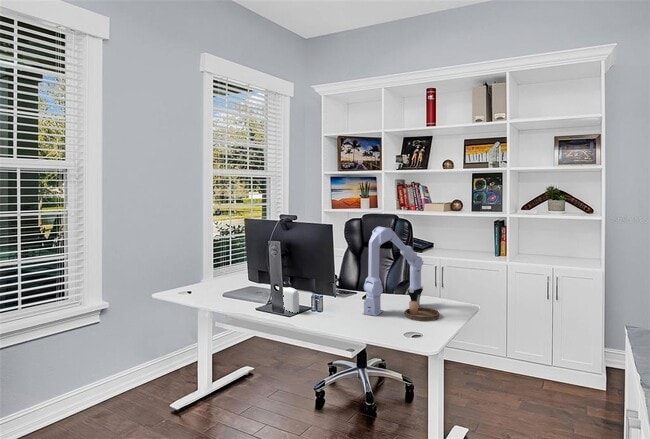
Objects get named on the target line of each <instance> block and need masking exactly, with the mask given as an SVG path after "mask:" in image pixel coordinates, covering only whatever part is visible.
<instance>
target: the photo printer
mask: <svg viewBox="0 0 650 439" xmlns="http://www.w3.org/2000/svg"><path fill="white" fill-rule="evenodd" d="M283 295H284V297H282V298H283V300H282V302H284V305H283V308H284V307H285V310H284V311H286V310H287V311H286V312H289V311H290V313H292V312H293V313H292V314H298V313H299V312H300V294H299V291H298V290H297V289H295V288H293V287H289V286H288V287H284V288H283V291H282V296H283ZM297 312H298V313H297Z"/></svg>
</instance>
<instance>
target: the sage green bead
mask: <svg viewBox="0 0 650 439" xmlns="http://www.w3.org/2000/svg"><path fill="white" fill-rule="evenodd" d="M420 299H421V296H420V295H418V297H417V302H418V307H420V306H421V305H420V304H421V302H420Z"/></svg>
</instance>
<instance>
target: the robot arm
mask: <svg viewBox="0 0 650 439" xmlns="http://www.w3.org/2000/svg"><path fill="white" fill-rule="evenodd" d="M371 232H372V234H371V236H370V239H369V241H368V265H367V266H368V270H367V272H368V274H367V275H368V276H367V277H366V278H365V281H364V284H363V290H364V292H365V296H366V298H365V300H364V301H363V312H362V315H367V316H368V315H369V316H374V317H375V316H376V317H377V316H379V315H380V314H382V313H383V312H384V309H381V305H382V304H381V296H382V294H383V291H384V287H383V285H382V280H381V278H380V252H381V251H380V250H381V248H380V247H381V245H383V244H385V243H386V242H388V241H390V242H392V243H393V245H395V246H396V247H397V248H398V249H399V250H400V251H399V252H400V255H401V256H403V257H404V258H405V260H406V261H407V264H408V265H409V290H408V291H407V294H408V296H409V297H410V301H417V297H418V295H420V297H421V296H422V295H421V294H422V292H423V291H424V286H423V285H422V266H423V265H424V260H423V258H422V257H421V256H419V255H418V253H417V252H415V251H414V250H413V247H412V246H410V245H405V243H404V242H403V241H402V240H401V238H399V237H398V235H397V234H396V232H395V231H393V229H392V228H390V227H384V226H379V225H378V226H376V227H375V228H374V229H373V230H372V231H371Z"/></svg>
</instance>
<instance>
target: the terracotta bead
mask: <svg viewBox="0 0 650 439" xmlns="http://www.w3.org/2000/svg"><path fill="white" fill-rule="evenodd" d="M408 304H409V308H408V309H409V312H410V315H418V302H417V301H411V300H410V301H409V303H408Z"/></svg>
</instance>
